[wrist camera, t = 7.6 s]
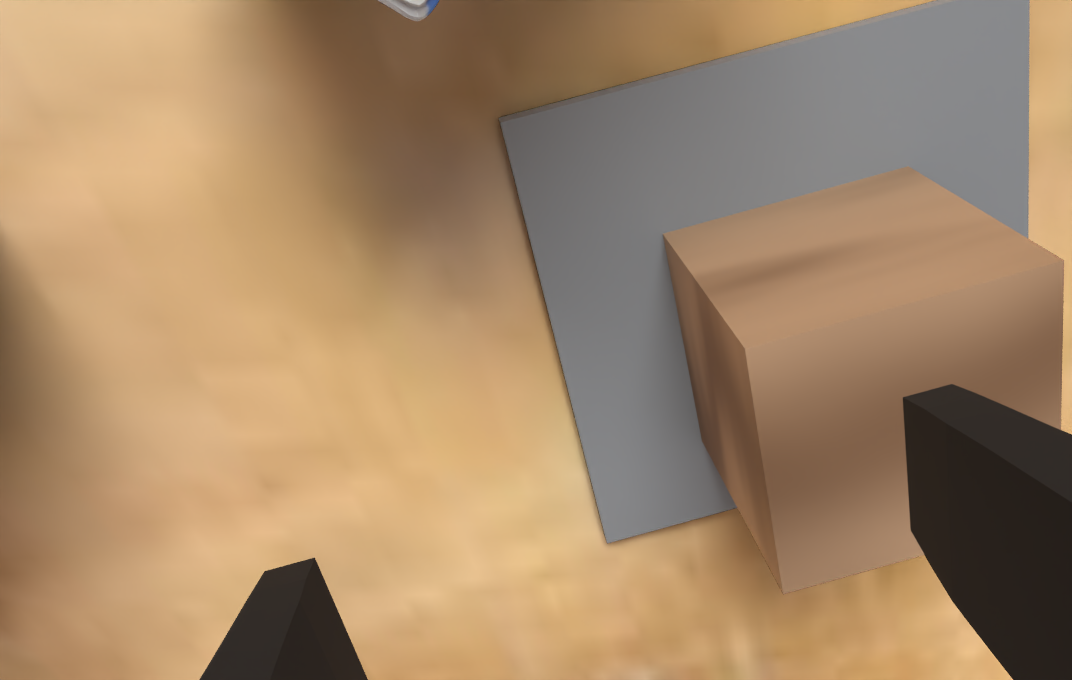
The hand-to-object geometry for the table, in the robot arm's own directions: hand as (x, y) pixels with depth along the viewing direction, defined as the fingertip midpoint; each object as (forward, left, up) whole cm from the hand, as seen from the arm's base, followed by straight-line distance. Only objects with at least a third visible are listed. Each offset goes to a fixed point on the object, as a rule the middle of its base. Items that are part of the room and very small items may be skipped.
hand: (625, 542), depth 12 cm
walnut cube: (-3, -6, -10) cm, 12 cm away
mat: (-3, -6, -11) cm, 12 cm away
